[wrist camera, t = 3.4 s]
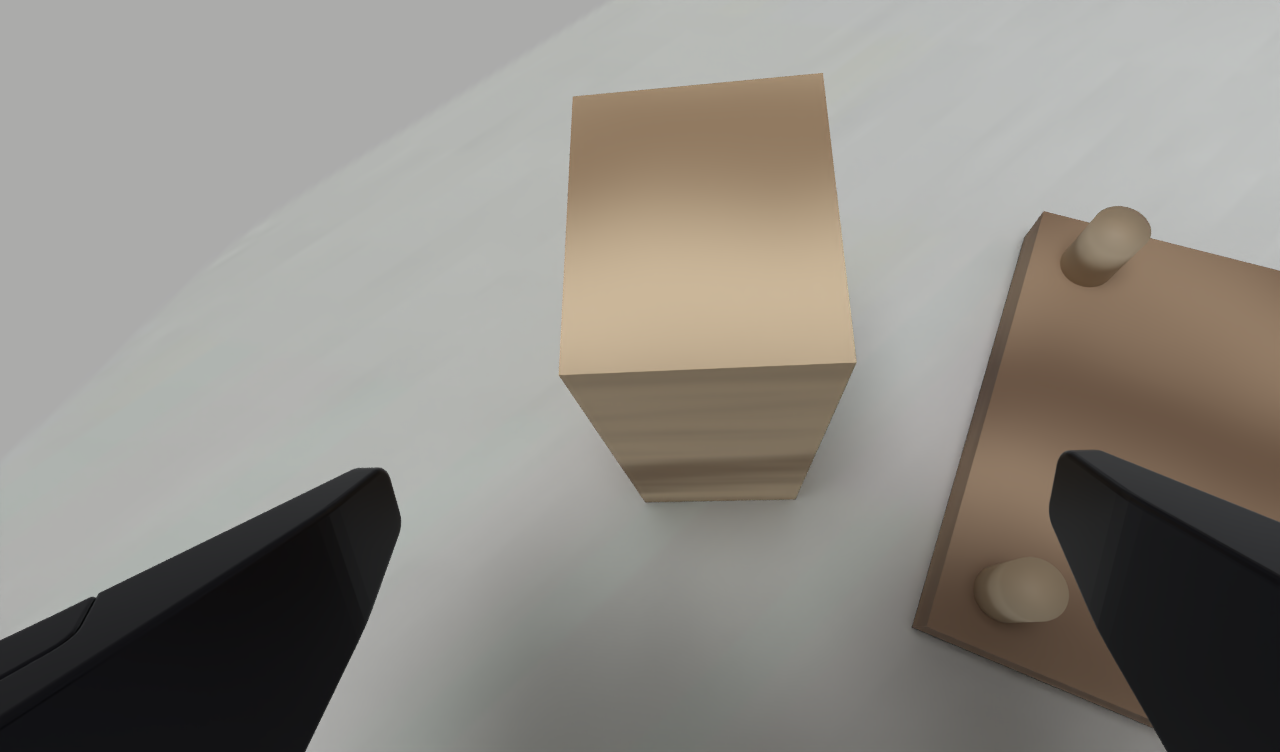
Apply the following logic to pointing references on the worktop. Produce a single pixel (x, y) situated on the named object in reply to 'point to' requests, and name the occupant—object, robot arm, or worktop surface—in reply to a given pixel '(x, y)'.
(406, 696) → the worktop surface
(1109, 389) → the peg stand
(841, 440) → the worktop surface
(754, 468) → the tall wooden block
